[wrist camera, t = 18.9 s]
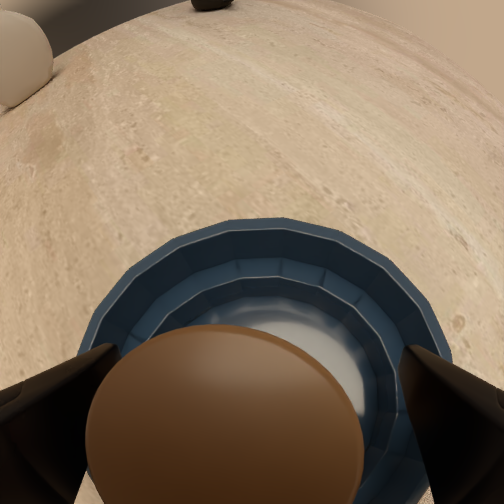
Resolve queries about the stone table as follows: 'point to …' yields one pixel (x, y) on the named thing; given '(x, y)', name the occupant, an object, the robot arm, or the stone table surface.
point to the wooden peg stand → (223, 423)
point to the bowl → (294, 321)
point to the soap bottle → (22, 58)
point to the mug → (210, 4)
